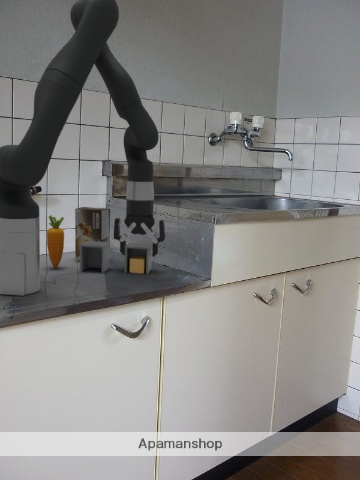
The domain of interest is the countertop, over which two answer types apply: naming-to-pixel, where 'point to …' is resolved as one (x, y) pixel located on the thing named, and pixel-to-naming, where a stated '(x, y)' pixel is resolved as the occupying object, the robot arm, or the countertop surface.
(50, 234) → the carrot
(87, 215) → the coffee box
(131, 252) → the cube hood
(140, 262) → the cube
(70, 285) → the countertop surface
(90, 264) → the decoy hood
